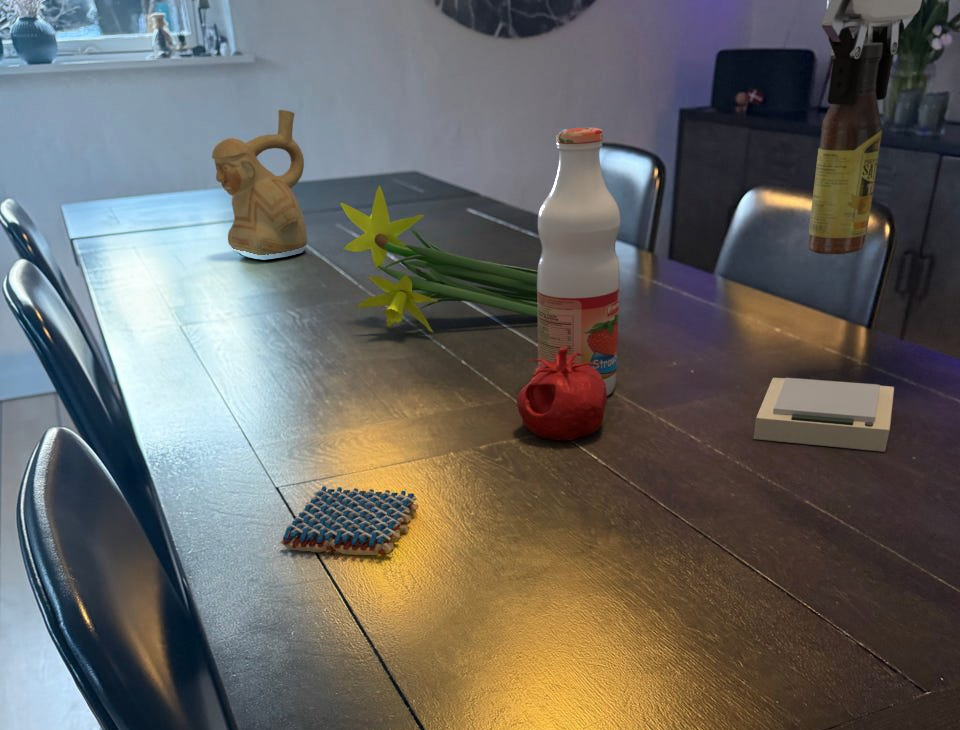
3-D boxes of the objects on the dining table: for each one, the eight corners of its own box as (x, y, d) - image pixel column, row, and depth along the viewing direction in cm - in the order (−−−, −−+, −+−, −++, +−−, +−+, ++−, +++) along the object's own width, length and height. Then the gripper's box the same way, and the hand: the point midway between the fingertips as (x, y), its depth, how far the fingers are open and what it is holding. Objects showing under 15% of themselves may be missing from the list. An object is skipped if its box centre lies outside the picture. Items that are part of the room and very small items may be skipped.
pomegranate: (593, 409, 107) (595, 328, 102) (618, 441, 99) (621, 354, 94) (509, 418, 106) (507, 336, 101) (528, 451, 98) (526, 364, 93)
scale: (770, 397, 108) (773, 372, 106) (890, 407, 103) (895, 381, 102) (753, 439, 98) (756, 412, 96) (885, 452, 94) (891, 423, 92)
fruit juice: (545, 376, 118) (542, 126, 102) (619, 378, 116) (628, 123, 100) (532, 402, 110) (527, 136, 94) (611, 405, 108) (619, 133, 92)
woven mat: (424, 507, 88) (422, 488, 87) (390, 562, 80) (387, 541, 79) (321, 501, 90) (318, 482, 89) (278, 554, 82) (274, 533, 81)
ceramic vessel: (211, 258, 187) (183, 117, 173) (292, 241, 198) (272, 106, 184) (255, 270, 177) (229, 120, 162) (339, 251, 187) (321, 109, 173)
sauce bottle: (863, 257, 102) (896, 44, 91) (804, 256, 104) (828, 48, 93) (865, 242, 107) (896, 39, 96) (808, 242, 109) (832, 43, 98)
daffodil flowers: (569, 345, 131) (321, 291, 125) (547, 371, 145) (323, 323, 140) (590, 227, 130) (342, 167, 125) (565, 264, 145) (342, 212, 139)
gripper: (874, -131, 80) (839, 111, 91) (977, -127, 88) (934, 95, 99) (801, -119, 85) (776, 108, 96) (905, -116, 93) (871, 93, 104)
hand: (856, 99), depth 97 cm, fingers closed on sauce bottle, 4 cm apart
